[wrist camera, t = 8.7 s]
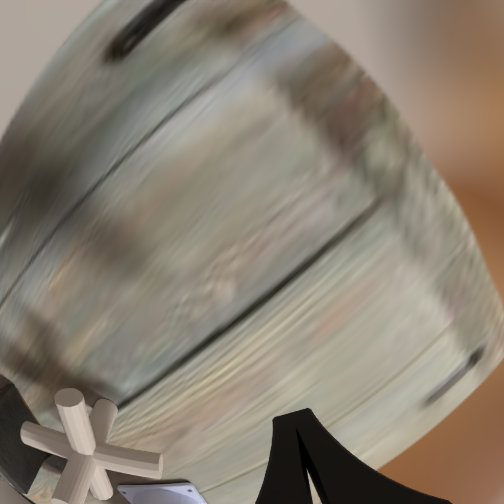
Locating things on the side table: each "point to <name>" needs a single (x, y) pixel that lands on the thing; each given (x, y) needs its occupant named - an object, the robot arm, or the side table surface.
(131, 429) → the side table surface
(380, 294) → the side table surface
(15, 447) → the duct stub
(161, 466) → the pipe connector
